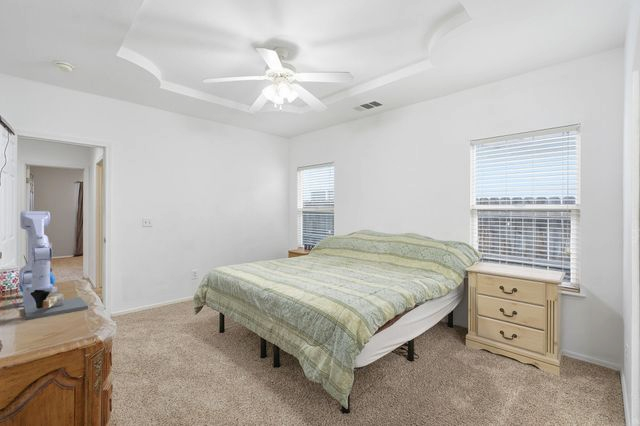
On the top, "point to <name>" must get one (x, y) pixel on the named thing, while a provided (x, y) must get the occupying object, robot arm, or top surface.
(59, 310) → the latch plate
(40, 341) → the top surface
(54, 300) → the grey beige handled piece
